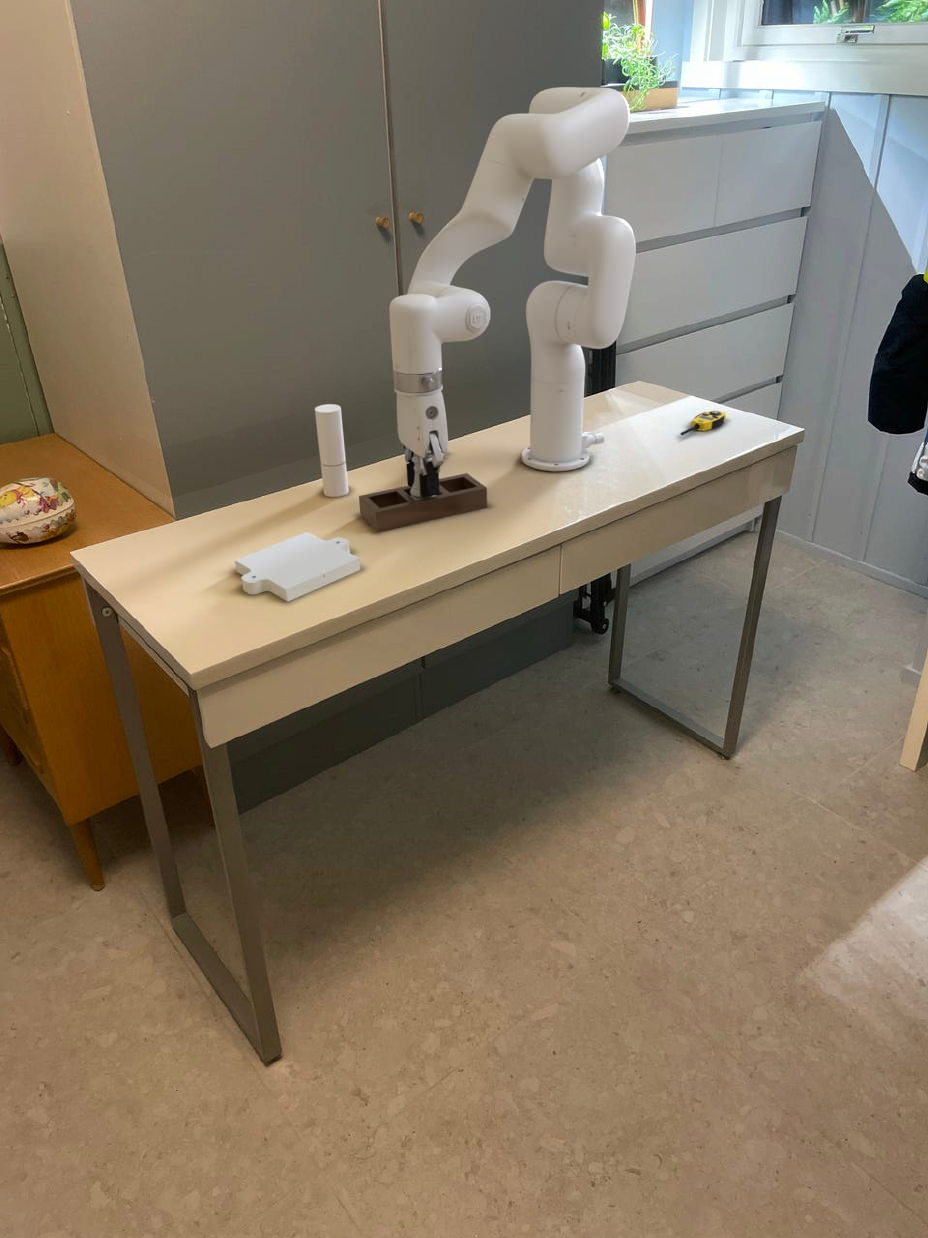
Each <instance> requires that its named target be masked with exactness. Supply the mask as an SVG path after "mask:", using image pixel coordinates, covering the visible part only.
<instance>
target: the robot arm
mask: <svg viewBox="0 0 928 1238" xmlns="http://www.w3.org/2000/svg"><path fill="white" fill-rule="evenodd" d="M630 114H631V112H630V107H629V104H628V101H627V99H626V98H625V96H623V94H622V93H621V92H620V91H618V90H616V89H614V88H611V87H578V86H577V87H576V86H561V87H551V88H546V89H544V90H541V91H539V92H538V93H537V94H536V95H534V96H533V98H532V100H531V102H530V104H529V108H528V113H511V114H507V115H504V116H502V117H501V118H499V119H498V120H497V121H496V122H495V124H494V125H493V126H492V128H491V130H490V133H489V135H488V138H487V140H486V143H485V146H484V149H483V151H482V153H481V157H480V159H479V161H478V165H477V167H476V171H475V173H474V175H473V178H472V181H471V183H470V186H469V188H468V192H467V194H466V197H465V200H464V202H463V204H462V206H461V209H460V210H459V212H458V213H457V214H456V215H455V216H454V217H453V218H452V219H451V220H449V221H448V222H447V223H446V224H445V226H443V228H442V229H441V230H440V231H439V232H438V233H437V234H436V235H435V236H434V238H432V239H431V241H430V242H429V243H428V244H427V245H426V247H425V249H424V250H423V252H422V254H421V255H420V256H419V257H420V258H419V259H418V262H417V264H416V267H415V269H414V272H413V275H412V277H411V280H410V282H409V285H408V289H407V293H406V294H403V295H402V294H401V295H398V296H396V297H394V298H393V299H392V300H391V302H390V303H389V308H388V309H389V311H388V312H389V315H388V317H389V330H390V346H391V360H392V362H391V363H392V377H393V391H394V393H396V427H397V435H398V440H399V441H400V443H401V444H402V445H403V449H404V460H405V462H406V465H405V466H406V483H407V486H410V487H413V486H412V485H413V484H414V479H415V470H414V466H415V463H414V462H413V461H412V458H413V456H414V453H415V454H417V455H418V456H419V459H420V466H421V474H419V480H420V496H421V497H423V498H424V497H429V496H434V495H438V494H439V479H440V471H441V469H440V468H441V466H442V465H443V464H444V463H445V459H444V456H442V453H444V454H445V453H446V454H448V452H449V434H448V423H447V411H446V406H445V401H444V396H443V392H442V390H443V388H444V387H443V363H442V362H443V361H442V359H443V358H442V357H443V356H442V344H443V343H452V342H453V343H454V342H466V341H471V340H474V339H476V338H478V337H480V336H481V335H482V334H483V333H484V332H485V331H486V329H487V328H488V326H489V325H490V321H491V307H490V305H489V302H488V301H487V299H486V298H485V297H484V296H483V295H482V294H481V293H479V292H477V291H475V290H473V289H469V288H465V287H460V286H455V285H452V284H451V282H452V280H453V278H454V276H455V275H456V273H457V271H458V270H459V269H460V267H462V266H463V264H464V263H465V262H466V261H467V260H469V259H470V258H471V257H472V256H474V255H475V254H477V253H479V252H481V251H483V250H485V249H487V248H489V247H491V246H494V245H496V244H498V243H500V242H502V241H504V240H506V239H508V238H509V237H510V236H511V235H512V234H513V233H514V231H515V229H516V225H517V223H518V221H519V218H520V216H521V212H522V210H523V207H524V204H525V202H526V200H527V196H528V194H529V192H530V189H531V187H532V185H533V182H534V179H543V180H544V179H546V180H551V189H550V197H549V198H550V199H549V206H548V213H547V214H548V215H547V220H546V227H545V234H544V242H543V243H544V244H543V257H544V261H545V263H546V264H547V265H548V267H550V268H551V269H553V270H555V271H557V272H561V273H564V274H570V275H575V276H580V277H587V279H588V280H587V285H584V284H581V283H576V282H570V281H564V280H547V281H544V282H541V283H540V284H538V285H537V286H535V287H534V288H533V289H532V291H531V292H530V294H529V296H528V298H527V301H526V305H525V320H526V321H525V322H526V327H527V331H528V337H529V338H528V339H529V346H530V417H529V420H530V421H529V428H530V429H529V445H528V446H527V447H525V448H524V449H523V450H522V452H521V455H520V456H521V461H522V463H523V464H525V465H526V466H527V467H530V468H532V469H536V470H540V471H545V472H546V471H547V472H567V471H572V470H578V469H581V468H582V467H584V466H586V465H587V464H588V463H589V462H590V457H591V454H590V452H589V451H588V448H590V447H591V446H593V445H594V446H595V445H599V444H600V445H601V444H603V443H604V442H605V435H604V433H602V432H597V433H594V434H591V432H590V431H583V423H584V402H585V401H584V400H585V399H584V398H585V378H586V361H585V355H584V352H583V349H582V347H585V348H588V349H589V348H590V349H595V350H601V349H606V348H608V347H610V346H611V345H613V344H614V342H616V340H617V339H618V337H619V335H620V333H621V331H622V329H623V327H624V321H625V317H626V313H627V308H628V301H629V296H630V291H631V285H632V281H633V280H632V279H633V275H634V269H635V262H636V255H637V254H636V253H637V245H636V236H635V234H634V231H633V228H632V227H631V225H630V224H629V223H628V222H627V221H626V220H625V219H623V218H621V217H617V216H613V215H606V214H602V207H603V198H604V189H605V175H604V170H603V166H602V165H603V164H602V162H601V160H600V159H601V158H603V157H605V156H606V155H608V154H610V153H611V152H613V151H615V149H616V148H617V147H618V146H619V145H620V144H621V143H622V142H623V140H624V139H625V136H626V134H627V133H628V130H629V126H630V121H631V120H630V117H631V115H630ZM428 450H430V451H431V453H427V454H426V451H428ZM441 452H442V453H441ZM446 454H445V455H446ZM428 458H432V460H431V461H429V462H428V463H427V465H426V460H425V459H428Z"/></svg>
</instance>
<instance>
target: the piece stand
mask: <svg viewBox="0 0 928 1238" xmlns="http://www.w3.org/2000/svg"><path fill="white" fill-rule="evenodd" d="M411 488H412V487H410V486H408V485H405V486H404V485H403V486H399V487H395V488H389V489H386V490H381V491H376V492H372V493H367V494H363V495H359V496H358V504H359V514H360V517H361V518H362V519H363V520H364V521H365V522H366V523H367V524H368V525H369V526H370V527H371V528H372V529H373V530H374V531H375V532H376V533H381V532H386V531H390V530H394V529H398V528H399V529H400V528H403V527H408V526H412V525H416V524H420V523H424V522H428V521H433V520H438V519H441V518H447V517H450V516H455V515H459V514H463V513H467V512H472V511H477V510H481V509H484V508H488V487H486V486H485V485H484V484H482V483H481V482H480V481H478V480H477V479H476V478H474V477H473V476H471V475H470V474H469V473H467V472H466V473H460V474H456V475H452V476H447V477H446V476H445V477H441V478H439V494H438V495H437V496H433V497H429V498H424V499H420V500H414V499H413V498H412V497H411V493H410V490H411Z"/></svg>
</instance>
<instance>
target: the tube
mask: <svg viewBox="0 0 928 1238" xmlns="http://www.w3.org/2000/svg"><path fill="white" fill-rule="evenodd" d="M341 407H342V406H340V405H338V404H333V403H328V404H327V403H326V404H320V405H318V406H315V407H314V414H315V415H314V416H315V424H316V431H317V432H316V433H317V434H316V435H317V444H318V450H319V451H318V452H319V460H320V471H321V479H322V489H323V495H324V496H326V497H330V498H338V497H339V498H341V497H344V496H346V495H347V494H348V493H349V481H348V470H347V462H346V449H345V439H344V438H345V437H344V428H343V418H342V417H343V416H342V408H341Z"/></svg>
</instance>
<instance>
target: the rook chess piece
mask: <svg viewBox="0 0 928 1238" xmlns="http://www.w3.org/2000/svg"><path fill="white" fill-rule="evenodd" d="M427 453H429V452H427V451H426V454H427ZM431 459H432V458H428V459H425V460H426V465H427V463H428V462H429V461H431ZM412 461H413V462H414V463H415V466H414V470H415V479H414V484H413V485H412V486H413V487H412V488H411V490H410V493H411V497H412V498H413V499H414V500H420V499H424V498H429V497H433V496H429V497H424V498H423V497H421V496H420V480H419V474H421V466H420V459H419V456H418V455H417V454H415V453H414V456H413V458H412ZM434 496H437V495H434Z"/></svg>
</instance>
